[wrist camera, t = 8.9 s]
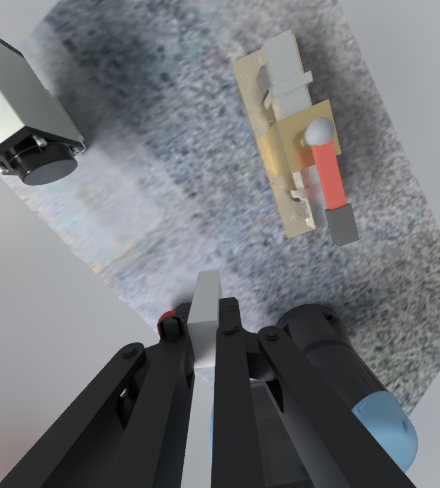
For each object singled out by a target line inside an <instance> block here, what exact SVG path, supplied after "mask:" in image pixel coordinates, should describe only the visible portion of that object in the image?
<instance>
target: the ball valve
mask: <svg viewBox="0 0 440 488" xmlns="http://www.w3.org/2000/svg"><path fill="white" fill-rule="evenodd" d="M83 141H84V138H83V136H82V135H81V133H80V132H79V130H78V129H77V127H76V126H75V124H74V123H73V121H72V120H71V118H70V117H69V115H68V114H67V112H66V111H65V109H64V108H63V106H62V105H61V103H60V102H59V100H58V99H57V98H56V97H53V96H52V95H51V94H50V92H49V91H48V90H46V89H45V88H44V86H43V85H42V83H41V82H40V80H39V79H38V77H37V76H36V74H35V73H34V71H33V70H32V68H31V67H30V65H29V64H28V62H27V61H26V59H25V58H24V56H23V55H22V53H21V52H20V51H18V50H17V49H15V48H14V47H12V46H11V45H9V44H8V43H6V42H5V41H3V40H2V39H0V172H1V173H2V174H3V175H18V177H19V178H20V179H21V180H22V182H23V183H24V184H27V185H43V184H47V183H51V182H54V181H57V180H59V179H61V178H63V177H65V176H67V175H69V174H70V173H72V172H73V171H74V170H75V169H76V167H77V165H78V162H77V161H76V159H75V158H74V157H75V156H78V155H80V154H81V153H83V152H84V151H85V150H86V148H85V145H84V144H83Z"/></svg>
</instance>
